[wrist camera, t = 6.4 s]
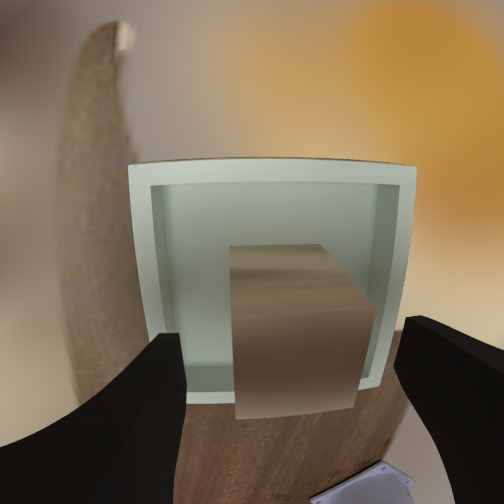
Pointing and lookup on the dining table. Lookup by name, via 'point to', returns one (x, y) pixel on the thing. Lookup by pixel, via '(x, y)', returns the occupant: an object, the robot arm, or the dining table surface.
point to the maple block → (295, 331)
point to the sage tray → (263, 233)
